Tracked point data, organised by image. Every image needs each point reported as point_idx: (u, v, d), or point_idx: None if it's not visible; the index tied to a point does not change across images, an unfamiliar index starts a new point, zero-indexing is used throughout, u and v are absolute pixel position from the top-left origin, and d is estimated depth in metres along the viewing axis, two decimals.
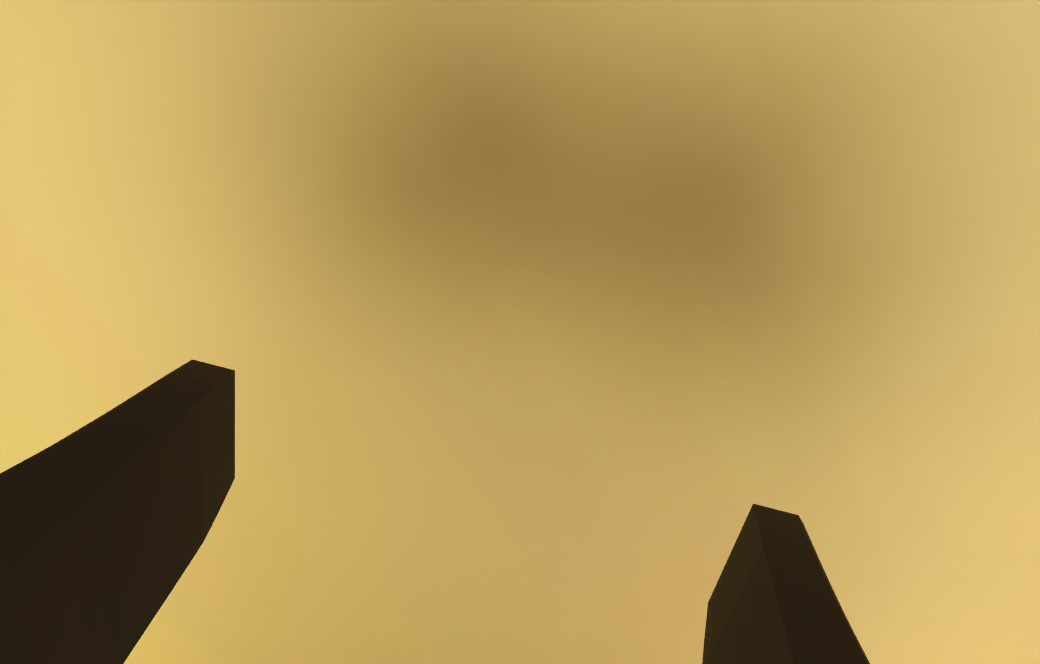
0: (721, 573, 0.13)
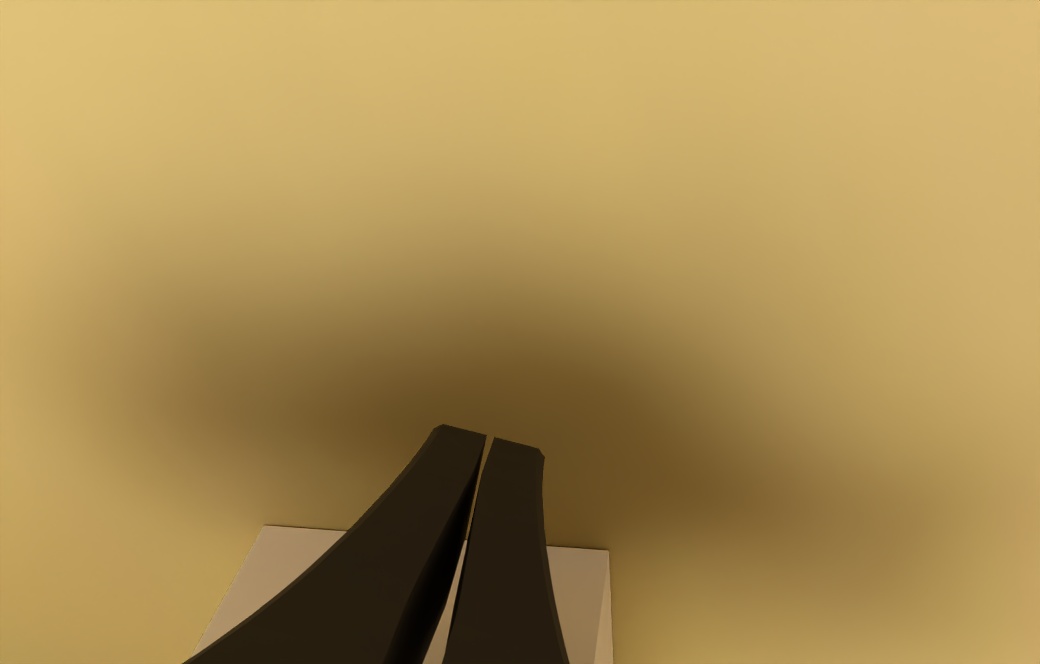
0: None
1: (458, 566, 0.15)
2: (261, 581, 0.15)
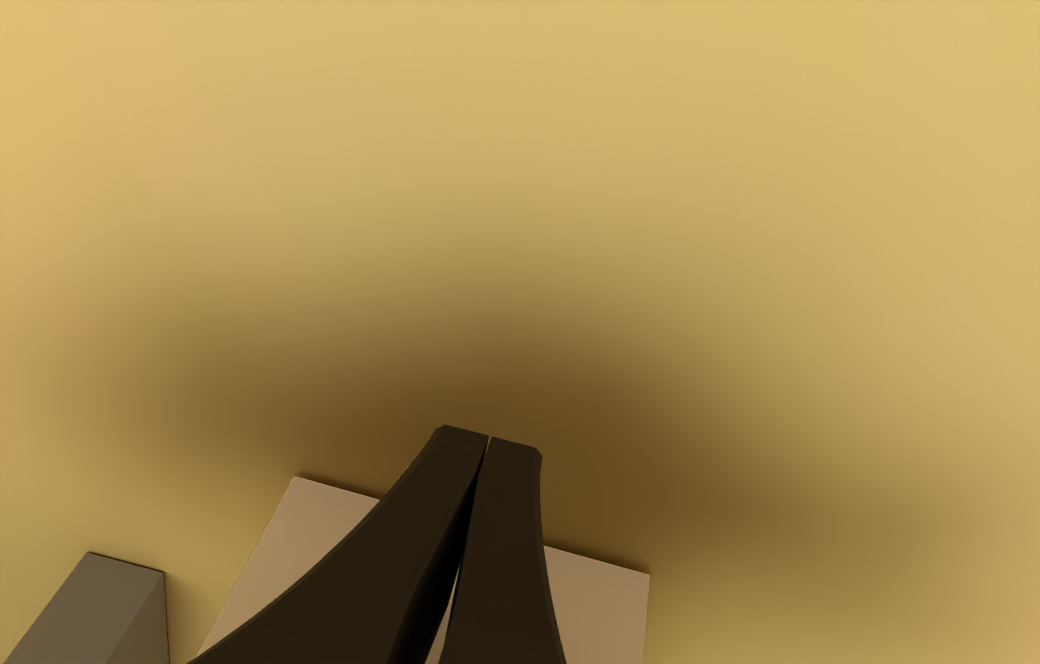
0: None
1: None
2: (294, 539, 0.14)
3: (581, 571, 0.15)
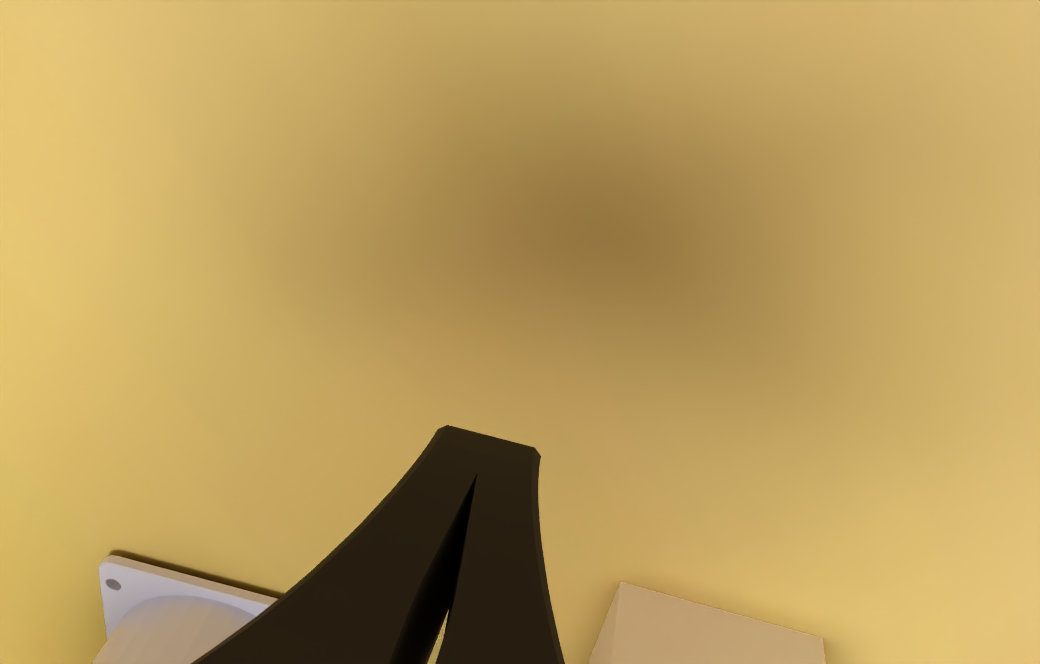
0: None
1: (742, 629, 0.26)
2: (633, 617, 0.26)
3: (785, 633, 0.27)
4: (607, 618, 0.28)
